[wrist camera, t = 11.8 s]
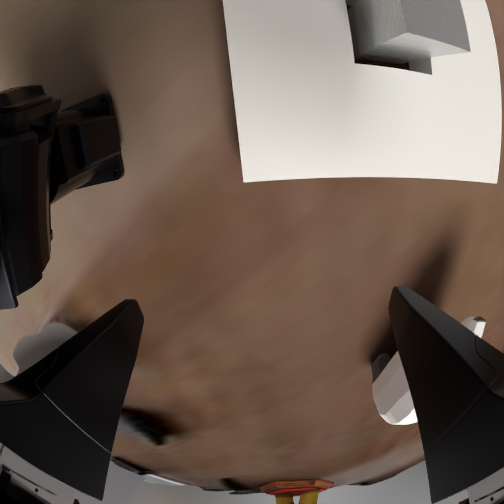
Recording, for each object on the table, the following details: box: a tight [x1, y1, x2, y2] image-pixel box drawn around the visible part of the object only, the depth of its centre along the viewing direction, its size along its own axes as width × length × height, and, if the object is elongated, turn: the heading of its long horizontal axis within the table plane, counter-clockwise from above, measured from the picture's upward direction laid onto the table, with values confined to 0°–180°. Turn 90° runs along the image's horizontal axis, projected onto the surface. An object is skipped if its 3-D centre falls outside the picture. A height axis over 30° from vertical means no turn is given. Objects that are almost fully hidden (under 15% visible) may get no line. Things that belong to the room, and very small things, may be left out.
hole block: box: [223, 0, 502, 184], centre depth 11 cm, size 18×18×3 cm
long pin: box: [347, 0, 471, 64], centre depth 9 cm, size 3×3×8 cm
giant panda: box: [371, 316, 486, 425], centre depth 20 cm, size 15×6×10 cm, turn 171°
